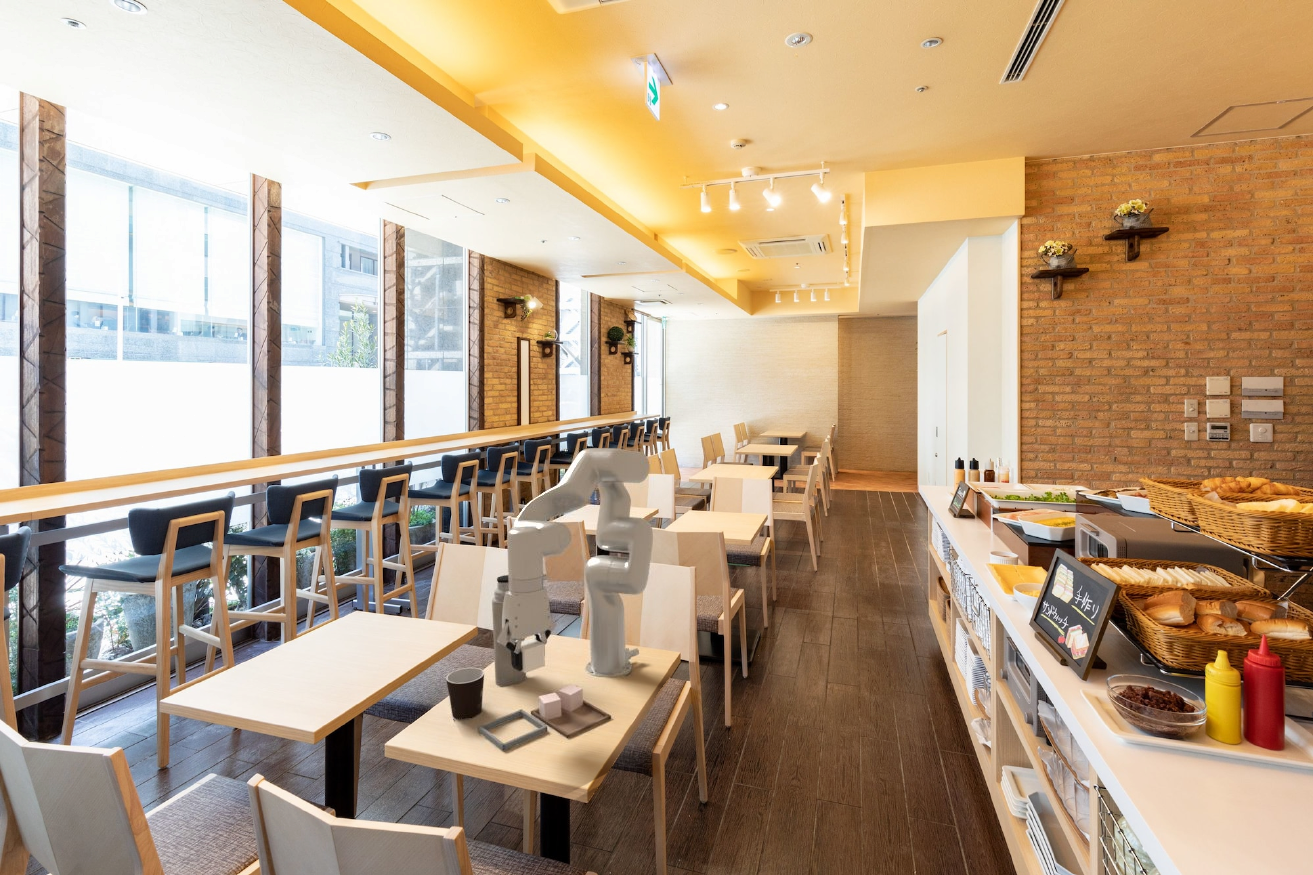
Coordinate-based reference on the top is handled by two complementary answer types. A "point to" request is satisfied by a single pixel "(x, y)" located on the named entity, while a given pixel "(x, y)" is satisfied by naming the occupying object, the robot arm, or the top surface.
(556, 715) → the small marshmallow
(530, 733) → the slate dish
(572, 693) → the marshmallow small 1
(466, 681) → the coffee mug
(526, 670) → the cream white cube
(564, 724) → the walnut tray
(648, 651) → the top surface
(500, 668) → the thermos bottle
